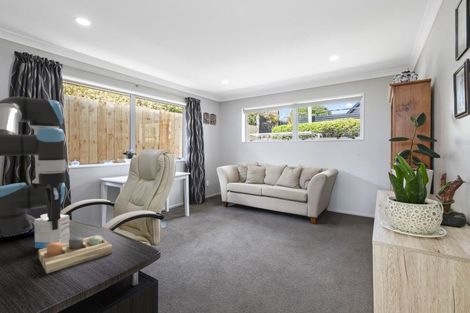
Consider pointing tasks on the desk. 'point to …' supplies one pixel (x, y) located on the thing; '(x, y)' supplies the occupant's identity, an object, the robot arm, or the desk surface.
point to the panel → (73, 255)
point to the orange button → (54, 248)
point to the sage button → (95, 240)
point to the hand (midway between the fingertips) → (54, 237)
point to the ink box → (43, 231)
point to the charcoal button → (75, 242)
